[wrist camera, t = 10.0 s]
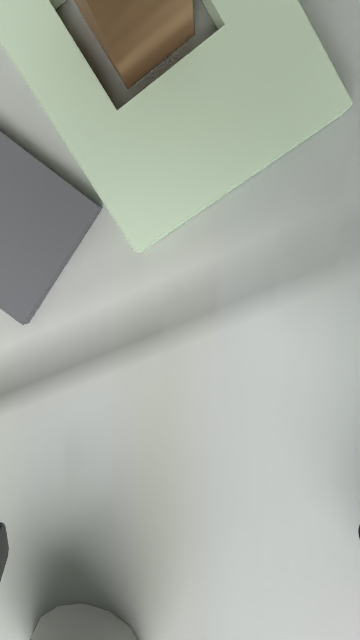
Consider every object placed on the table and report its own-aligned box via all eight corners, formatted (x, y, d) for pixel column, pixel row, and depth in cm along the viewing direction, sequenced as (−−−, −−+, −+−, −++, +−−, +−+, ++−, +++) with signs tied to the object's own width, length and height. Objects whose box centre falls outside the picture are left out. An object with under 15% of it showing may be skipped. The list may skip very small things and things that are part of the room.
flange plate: (343, 113, 15) (355, 100, 14) (139, 253, 17) (134, 252, 16) (135, -273, 13) (128, -327, 12) (-63, -62, 15) (-86, -90, 14)
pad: (102, 208, 17) (98, 206, 16) (28, 322, 18) (22, 325, 18) (-19, 116, 16) (-28, 110, 16) (-83, 240, 18) (-93, 239, 17)
